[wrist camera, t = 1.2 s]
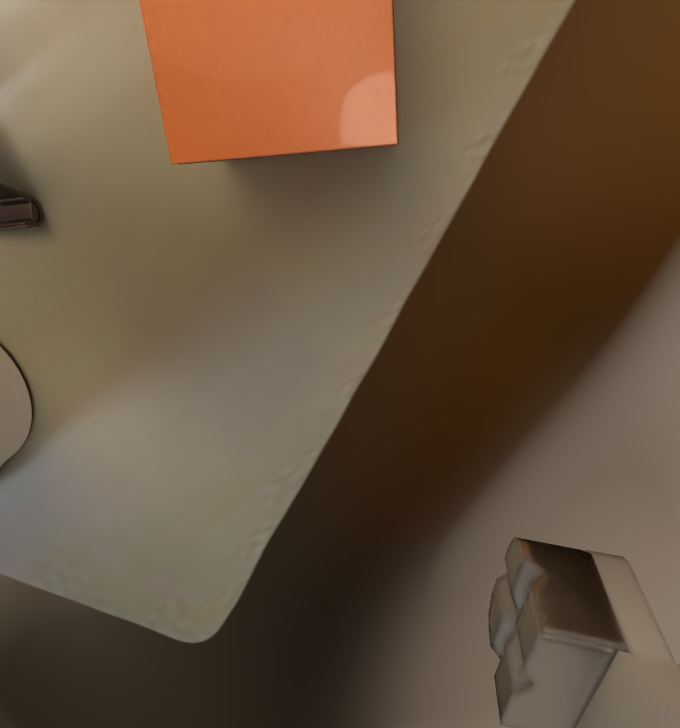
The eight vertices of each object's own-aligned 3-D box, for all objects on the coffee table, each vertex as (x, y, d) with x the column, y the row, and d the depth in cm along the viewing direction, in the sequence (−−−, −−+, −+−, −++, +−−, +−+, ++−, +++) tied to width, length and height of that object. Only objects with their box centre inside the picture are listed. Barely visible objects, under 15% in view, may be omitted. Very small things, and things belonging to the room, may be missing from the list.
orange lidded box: (221, 157, 34) (170, 165, 26) (179, -99, 29) (100, -191, 21) (394, 142, 33) (399, 145, 25) (383, -128, 28) (385, -235, 20)
